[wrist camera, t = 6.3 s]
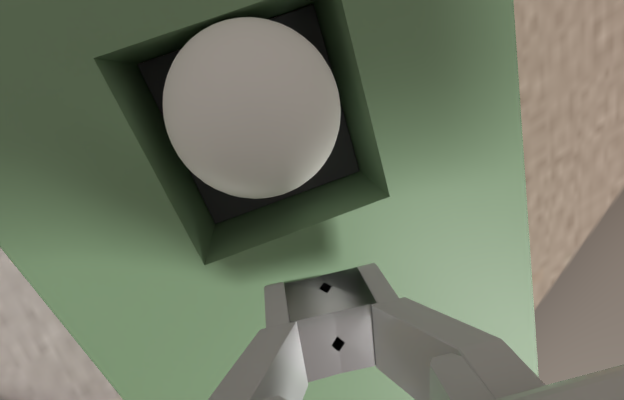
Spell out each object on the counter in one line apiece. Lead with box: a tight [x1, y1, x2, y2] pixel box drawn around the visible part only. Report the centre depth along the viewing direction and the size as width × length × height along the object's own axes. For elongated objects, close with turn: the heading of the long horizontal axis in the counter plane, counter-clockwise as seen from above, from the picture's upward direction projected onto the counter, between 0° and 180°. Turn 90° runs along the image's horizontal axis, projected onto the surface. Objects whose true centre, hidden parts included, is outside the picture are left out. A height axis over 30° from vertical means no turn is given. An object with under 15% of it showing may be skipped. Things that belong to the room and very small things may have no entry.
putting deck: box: [0, 0, 539, 400], centre depth 11 cm, size 14×19×3 cm
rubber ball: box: [163, 17, 341, 199], centre depth 9 cm, size 4×4×4 cm
